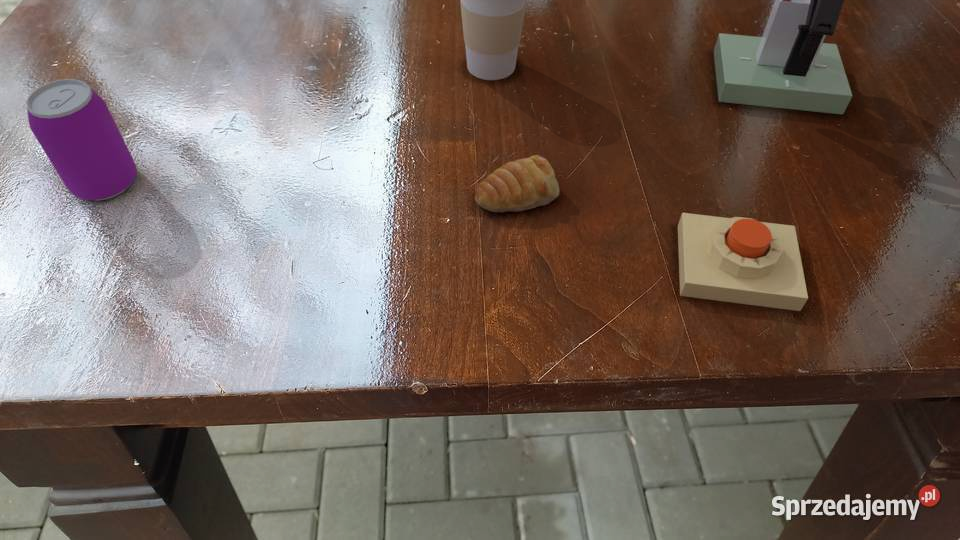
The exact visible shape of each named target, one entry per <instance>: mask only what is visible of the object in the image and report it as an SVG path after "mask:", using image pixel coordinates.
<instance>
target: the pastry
mask: <svg viewBox="0 0 960 540" xmlns="http://www.w3.org/2000/svg"><path fill="white" fill-rule="evenodd" d="M476 186H477V187H476V190H475V195H474V200H475V202H476V203H477V205H478V206H480V207H481V208H483V209H485V210H486V211H489V212H492V213H506V212H513V213H517V212H519V213H520V212H523V211H529V210H531V209H535V208H537V207H541V206H542V207H543V206H546V205H549V204H551V202H553V201H554V200H556V199H557V198H558V197H559V196H560V187H559V182H558V180H557V177H556V173H555V170H554V168H553V167H552V165H551V164H550V162H549V161H548V160H547V159H546V158H545V157H542V156H541V155H539V154H535V155H531V156H529V157H526V158H518V159H516V160H514V161H513V160H512V161H508V162H505V164H503V165H502V166H500V167H498V168H497V169H495V170H494V171H493V172H491V173H490V174H488V176H487V177H485V178H484V179H482V181H481V182H480V183H478V184H477V185H476Z"/></svg>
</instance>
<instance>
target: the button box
mask: <svg viewBox="0 0 960 540" xmlns="http://www.w3.org/2000/svg"><path fill="white" fill-rule="evenodd" d="M740 219H753V220H756V219H755V218H752V217H744V216H743V217H742V216H734V217H723V216H715V215H705V214H698V213H689V212H682V213H681V215H680V218H679V221H678V224H677V244H678V246H677V247H678V271H679V272H678V277H679V296H680V297H687V298H693V299H702V300H708V301H709V300H711V301H719V302H725V303H732V304H742V305H749V306H756V307H765V308H772V309H778V310H779V309H780V310H788V311H796V312H801V311H802V309H803V308H804V306H805V304H806V303H807V301H808V299H809V295H808V290H807V284H806V279H805V273H804V268H803V263H802V257H801V252H800V247H799V240H798V235H797V230H796V226H795V225H790V224H783V223H774V222H767V221H766V222H765V221H760V222H761V223H763V224H764V225H765V226H767V227H768V229H769V230H770V232H771V235H772V240H771V242H770V244H769V246H768V248H767V250H766V252H765V253H764V255H762V256H761V257H758V258H754V259H752V258H744V257H741V256H739V255H738V254H736V253H734V252H732V251H731V250H730V248H729V247H728V245H727V236H728V234H729V231H730V229H731V227H732V225H733V223H735V222H736V221H738V220H740Z"/></svg>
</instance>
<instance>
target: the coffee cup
mask: <svg viewBox="0 0 960 540" xmlns="http://www.w3.org/2000/svg"><path fill="white" fill-rule="evenodd" d="M459 1H460V2H459V3H460V12H461V23H462V33H463V41H464V44H465V46H464V47H465V57H466V67H467V71H468V72H469V73H470V74H471V75H472V76H474V77H476V78H478V79H480V80H485V81H499V80H503V79H506V78H508V77H509V76H511V75H513V73H514V72H515V70H516V65H517V58H518V54H519V53H518V51H519V45H520V43H521V40H522V39H521V38H522V32H523V27H524V20H525V14H526V8H527V1H528V0H459Z"/></svg>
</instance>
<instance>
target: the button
mask: <svg viewBox="0 0 960 540" xmlns="http://www.w3.org/2000/svg"><path fill="white" fill-rule="evenodd" d="M753 219H754V218H752V219H740V220H738V221H736V222H735V223H733V225H732V227H731V229H730V231H729V234H728V236H727V245H728V247H729V248H730V250H731V251H732V252H734V253H736V254H738V255H739V256H741V257H744V258H752V259H754V258H758V257H761V256H762V255H764V253H765V252H766V250H767V248H768V246H769V244H770V242H771V240H772V235H771V232H770V230H769V229H768V227H767V226H765V225H764V224H763V223H761V222H762V221H759V220H757V219H755V220H753Z"/></svg>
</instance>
